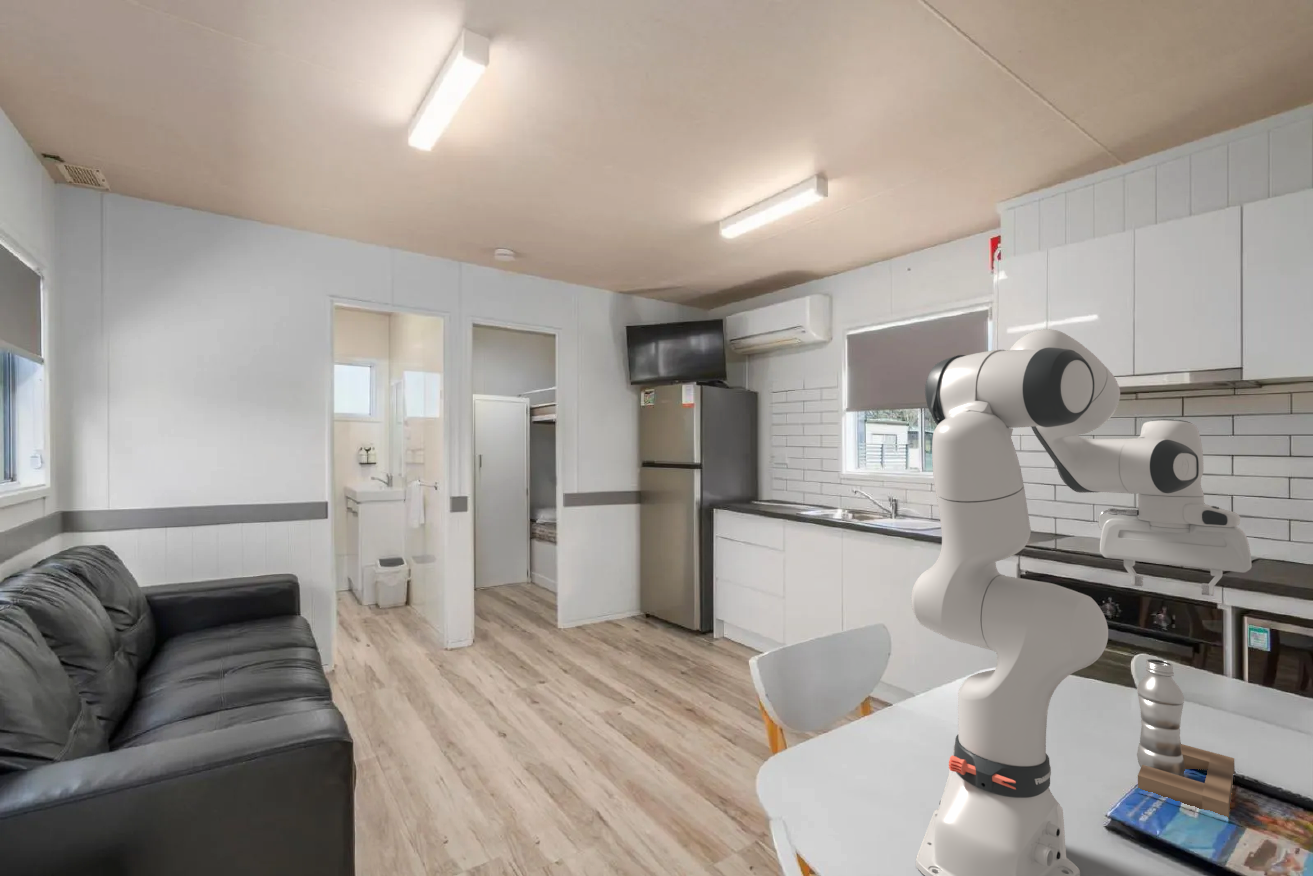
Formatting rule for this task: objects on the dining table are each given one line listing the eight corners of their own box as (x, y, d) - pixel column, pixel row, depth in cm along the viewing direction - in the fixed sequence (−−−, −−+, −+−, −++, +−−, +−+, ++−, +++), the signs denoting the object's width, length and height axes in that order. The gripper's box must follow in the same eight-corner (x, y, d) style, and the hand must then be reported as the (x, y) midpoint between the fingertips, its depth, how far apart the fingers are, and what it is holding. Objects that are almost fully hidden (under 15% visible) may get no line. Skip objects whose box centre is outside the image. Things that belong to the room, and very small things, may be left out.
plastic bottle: (1167, 768, 108) (1166, 657, 109) (1195, 788, 101) (1193, 670, 102) (1128, 764, 109) (1127, 655, 110) (1153, 785, 102) (1151, 668, 103)
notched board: (1228, 823, 92) (1228, 803, 92) (1137, 793, 100) (1137, 775, 100) (1234, 775, 106) (1234, 758, 106) (1154, 752, 114) (1154, 736, 114)
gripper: (1094, 508, 111) (1095, 583, 110) (1250, 517, 96) (1251, 604, 95) (1101, 506, 115) (1102, 578, 115) (1251, 515, 100) (1252, 597, 100)
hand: (1171, 590), depth 105 cm, fingers open, 8 cm apart
